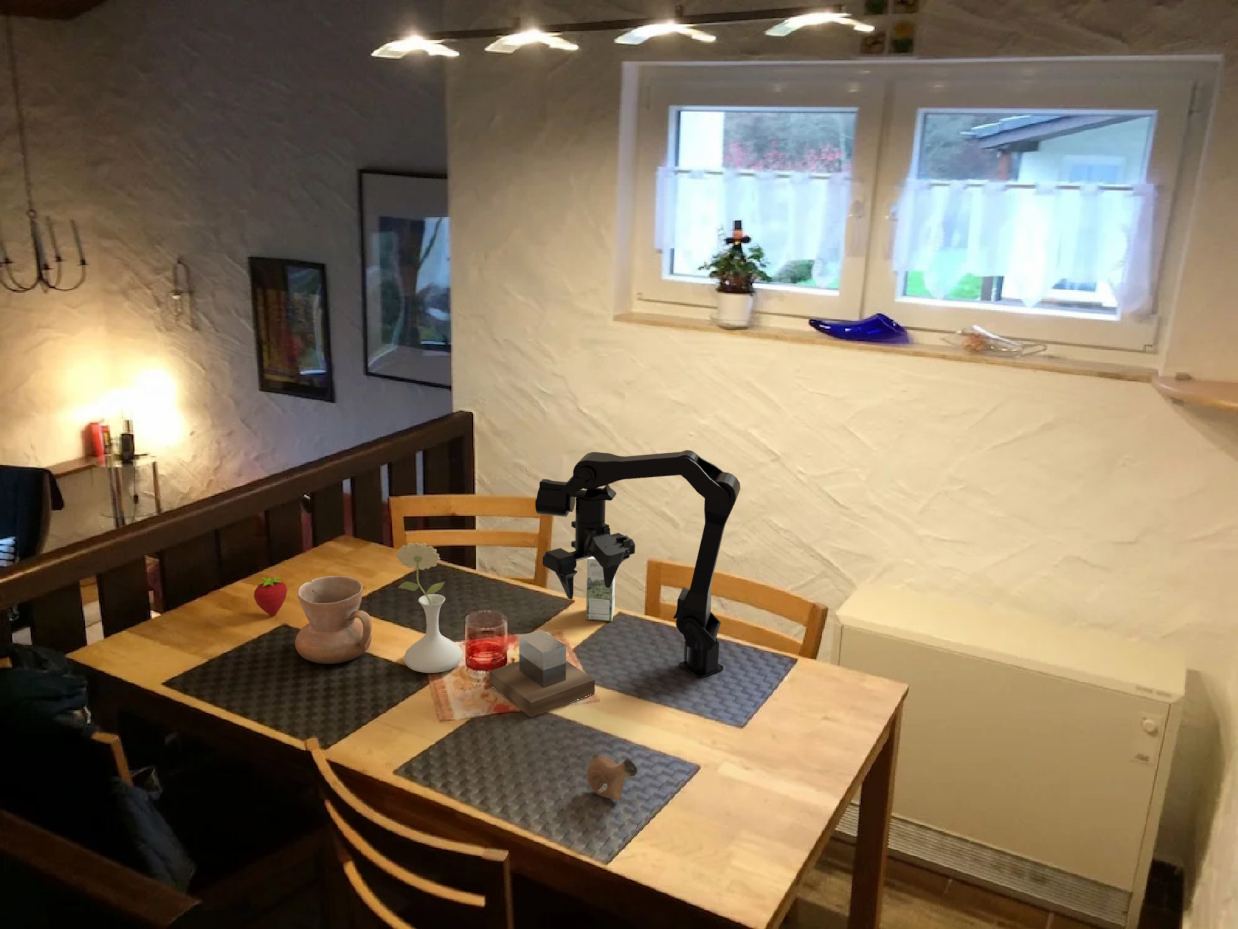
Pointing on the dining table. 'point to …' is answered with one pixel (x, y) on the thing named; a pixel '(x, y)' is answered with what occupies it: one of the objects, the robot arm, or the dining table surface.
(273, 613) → the strawberry
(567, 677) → the stand
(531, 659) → the housing
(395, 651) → the dining table surface
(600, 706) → the dining table surface
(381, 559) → the dining table surface
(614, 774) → the oil lamp
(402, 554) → the flower in vase
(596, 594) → the syrup box
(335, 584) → the ceramic jug
